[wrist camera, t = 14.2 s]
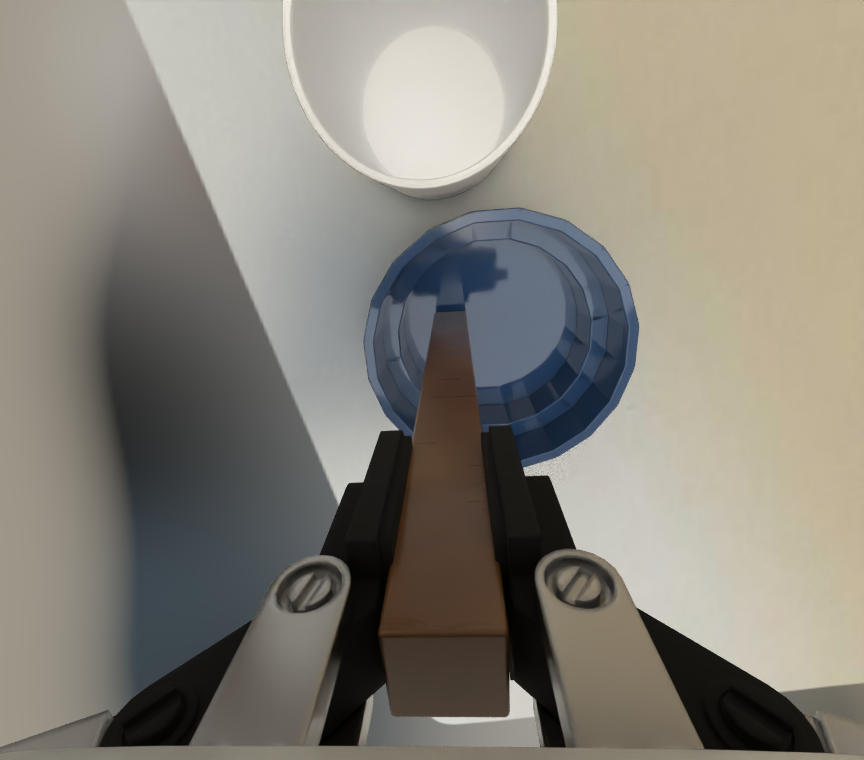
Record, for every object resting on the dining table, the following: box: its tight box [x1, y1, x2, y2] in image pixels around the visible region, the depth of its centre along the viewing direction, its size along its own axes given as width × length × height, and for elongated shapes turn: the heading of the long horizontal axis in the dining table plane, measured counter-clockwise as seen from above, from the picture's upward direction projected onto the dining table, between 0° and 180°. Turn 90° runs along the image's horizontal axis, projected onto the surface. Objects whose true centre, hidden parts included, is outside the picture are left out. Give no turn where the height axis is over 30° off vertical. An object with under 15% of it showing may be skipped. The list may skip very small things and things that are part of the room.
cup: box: [282, 0, 558, 199], centre depth 17 cm, size 8×12×10 cm
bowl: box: [364, 208, 639, 468], centre depth 23 cm, size 13×13×6 cm
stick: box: [378, 311, 510, 717], centre depth 15 cm, size 2×2×20 cm
